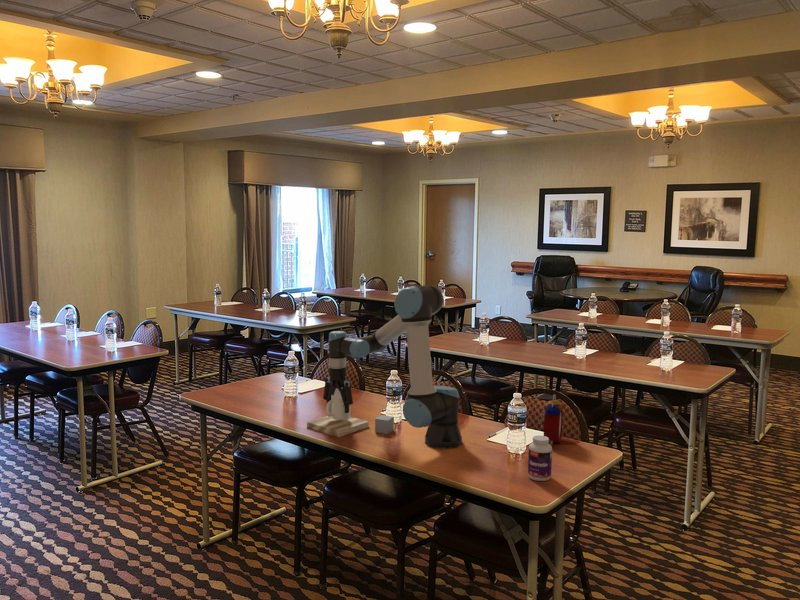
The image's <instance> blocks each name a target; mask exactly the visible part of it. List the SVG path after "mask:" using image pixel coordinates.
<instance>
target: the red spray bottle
mask: <svg viewBox="0 0 800 600" xmlns="http://www.w3.org/2000/svg"><path fill="white" fill-rule="evenodd" d="M563 406H564V404H563V402H561V401H559V400H557V395H556V394H553V397H552V400H550V401H549V402H548V403H547V404H546V407H545V409H544V411H543V412H541V414H542V415H541V417H542V418H544V419H541V418H539V419H538V420H539V421H540V422H543V425H541V426H540V427H541V428H543V436H546V437H548V438H549V444H550V445H551V447H552V446H553V443H561V439H562V435H563V422H564V421H563V417H564V416H563V410H564V409H563Z"/></svg>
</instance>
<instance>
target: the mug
mask: <svg viewBox="0 0 800 600" xmlns="http://www.w3.org/2000/svg"><path fill="white" fill-rule="evenodd" d="M346 403H347V402H346ZM330 404H331V412H332V413H330V411H329V407H330ZM343 405H344V403H343V400H342V397H341V394H340V392H338V393H334V395H331V400H330V401H329V402H328V403H327V402H326V406H325V411H326V414H327V416H328V415H329V416H332V418H333V419H335V420H343ZM350 417H351V405H349V413H348V418H350Z"/></svg>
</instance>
